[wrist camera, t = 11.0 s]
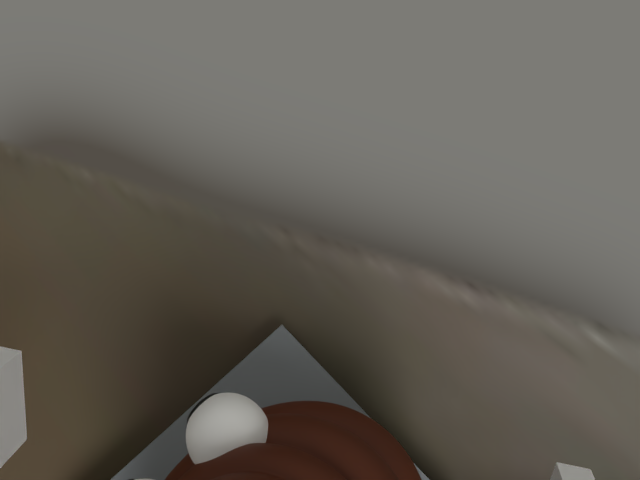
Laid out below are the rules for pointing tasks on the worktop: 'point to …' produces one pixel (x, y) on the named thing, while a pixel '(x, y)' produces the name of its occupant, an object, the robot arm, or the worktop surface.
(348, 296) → the worktop surface
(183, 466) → the poop emoji
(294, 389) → the board
